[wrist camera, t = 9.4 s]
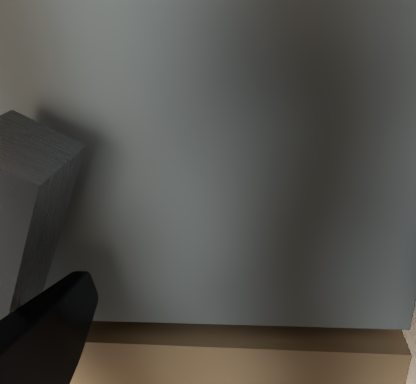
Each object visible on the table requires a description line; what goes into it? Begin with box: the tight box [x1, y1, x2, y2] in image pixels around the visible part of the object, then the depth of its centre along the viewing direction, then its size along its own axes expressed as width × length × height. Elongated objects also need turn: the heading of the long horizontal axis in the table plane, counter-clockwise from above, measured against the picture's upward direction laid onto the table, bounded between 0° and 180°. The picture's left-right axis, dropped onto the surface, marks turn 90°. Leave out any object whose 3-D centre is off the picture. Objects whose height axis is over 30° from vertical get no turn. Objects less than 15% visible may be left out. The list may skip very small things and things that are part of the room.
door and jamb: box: [0, 0, 416, 384], centre depth 12 cm, size 18×16×4 cm
